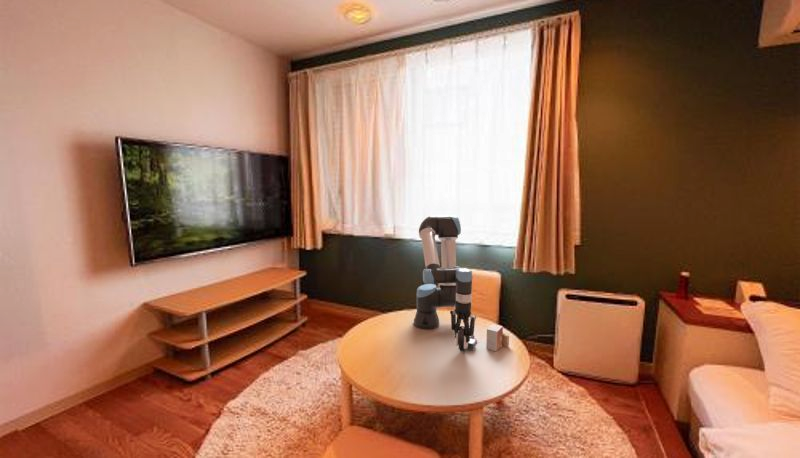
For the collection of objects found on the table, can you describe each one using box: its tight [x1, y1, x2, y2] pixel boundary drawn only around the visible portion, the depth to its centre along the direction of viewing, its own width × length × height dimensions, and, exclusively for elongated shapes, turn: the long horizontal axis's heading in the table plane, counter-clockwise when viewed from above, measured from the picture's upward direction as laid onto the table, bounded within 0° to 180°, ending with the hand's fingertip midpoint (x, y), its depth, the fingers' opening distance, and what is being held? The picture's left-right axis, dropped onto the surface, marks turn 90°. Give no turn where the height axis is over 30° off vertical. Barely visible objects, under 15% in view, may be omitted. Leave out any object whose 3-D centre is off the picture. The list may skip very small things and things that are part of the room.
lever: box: [458, 325, 477, 353], centre depth 167 cm, size 17×7×12 cm, turn 152°
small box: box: [485, 323, 504, 352], centre depth 167 cm, size 8×6×10 cm
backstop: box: [502, 332, 510, 348], centre depth 171 cm, size 8×2×6 cm, turn 34°
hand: (461, 346), depth 162 cm, fingers closed on lever, 4 cm apart
